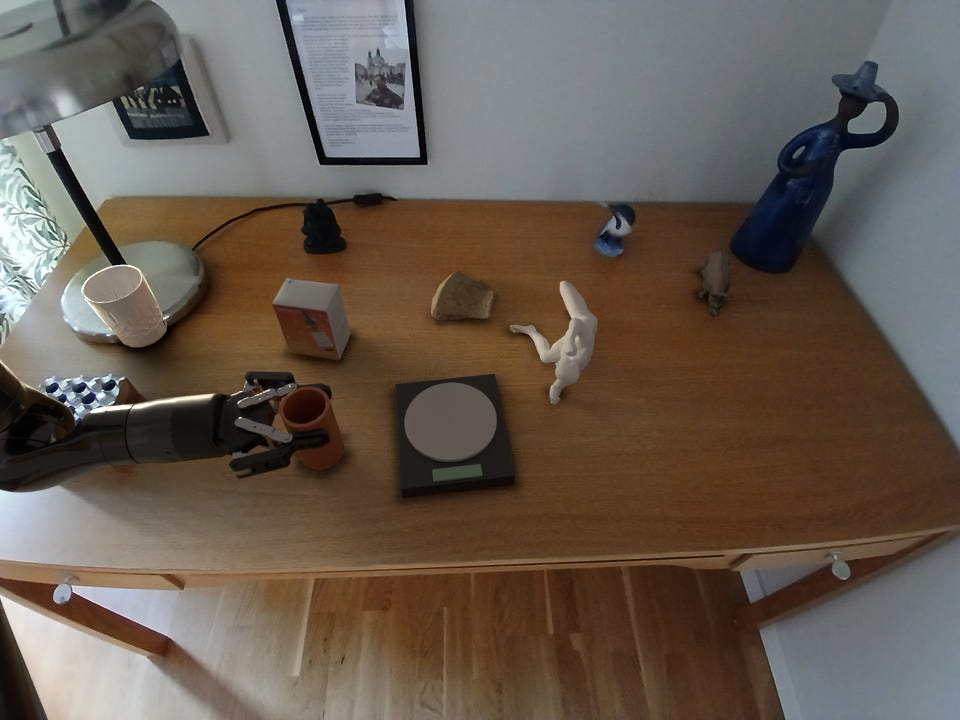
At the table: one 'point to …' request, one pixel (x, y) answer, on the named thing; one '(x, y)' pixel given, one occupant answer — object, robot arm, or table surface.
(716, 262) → the rhino figurine
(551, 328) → the table surface
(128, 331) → the white cup
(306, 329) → the small box
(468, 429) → the scale
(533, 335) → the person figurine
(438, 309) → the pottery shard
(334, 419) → the cup
